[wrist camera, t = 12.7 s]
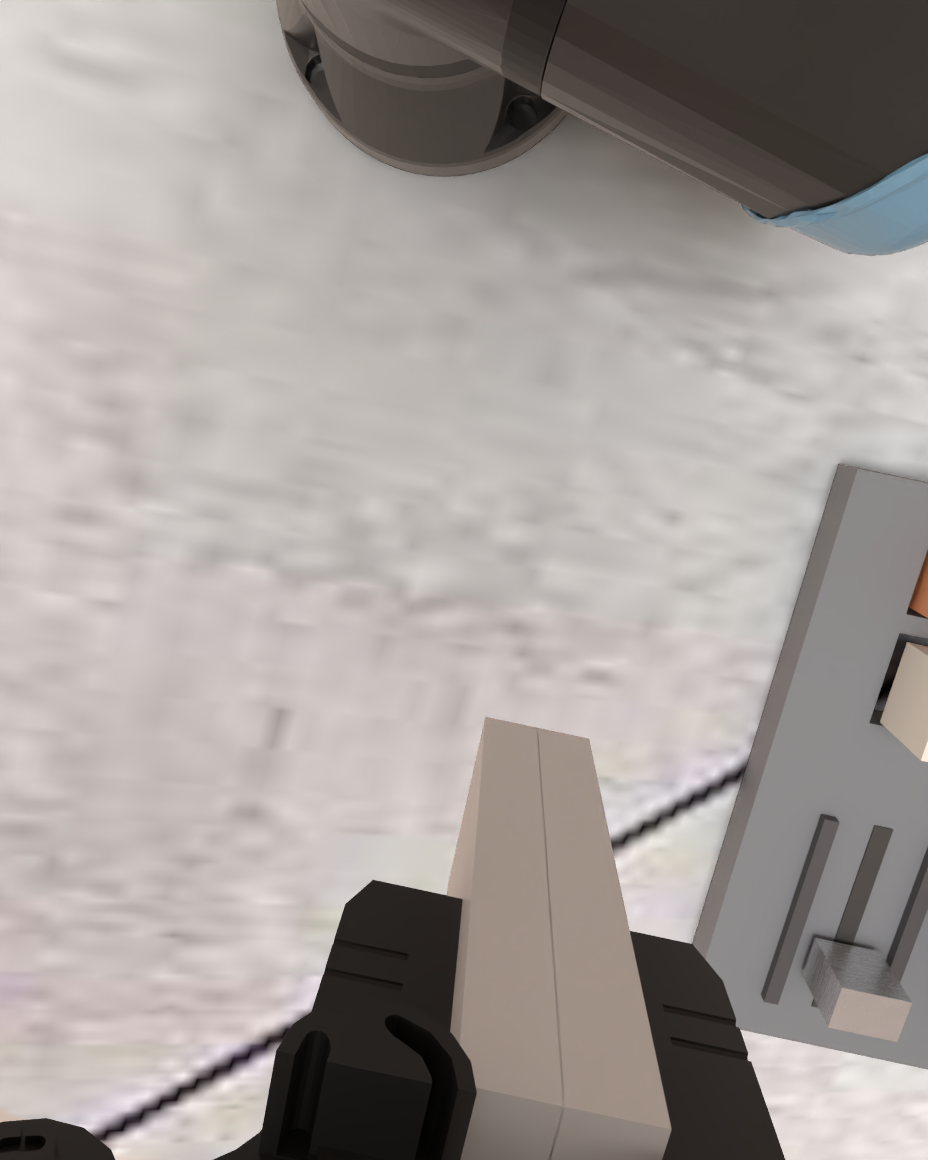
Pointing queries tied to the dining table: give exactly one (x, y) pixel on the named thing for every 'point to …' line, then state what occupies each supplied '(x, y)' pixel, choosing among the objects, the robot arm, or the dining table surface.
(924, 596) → the button
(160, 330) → the dining table surface
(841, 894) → the console
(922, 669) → the button
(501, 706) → the dining table surface
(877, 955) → the slider knob
